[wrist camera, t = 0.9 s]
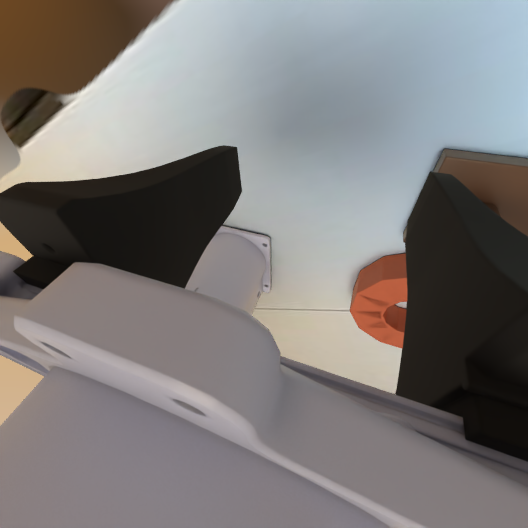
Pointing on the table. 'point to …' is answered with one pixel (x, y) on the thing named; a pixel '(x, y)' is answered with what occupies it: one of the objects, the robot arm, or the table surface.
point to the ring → (382, 299)
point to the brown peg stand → (491, 182)
